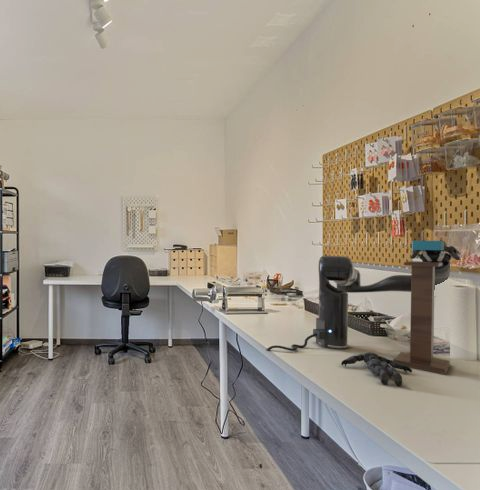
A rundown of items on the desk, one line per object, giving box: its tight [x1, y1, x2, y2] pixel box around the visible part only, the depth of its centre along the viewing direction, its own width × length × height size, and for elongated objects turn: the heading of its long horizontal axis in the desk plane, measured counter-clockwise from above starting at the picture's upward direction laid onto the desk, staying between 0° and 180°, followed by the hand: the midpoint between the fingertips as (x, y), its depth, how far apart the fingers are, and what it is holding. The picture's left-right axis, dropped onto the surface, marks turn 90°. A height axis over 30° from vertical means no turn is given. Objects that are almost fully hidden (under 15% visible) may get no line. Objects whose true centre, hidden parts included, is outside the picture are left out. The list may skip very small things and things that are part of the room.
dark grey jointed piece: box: [341, 351, 413, 387], centre depth 106 cm, size 18×4×20 cm
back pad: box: [411, 240, 445, 251], centre depth 123 cm, size 19×7×3 cm, turn 132°
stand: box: [393, 260, 451, 375], centre depth 113 cm, size 12×12×32 cm
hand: (431, 242), depth 125 cm, fingers closed on back pad, 4 cm apart
